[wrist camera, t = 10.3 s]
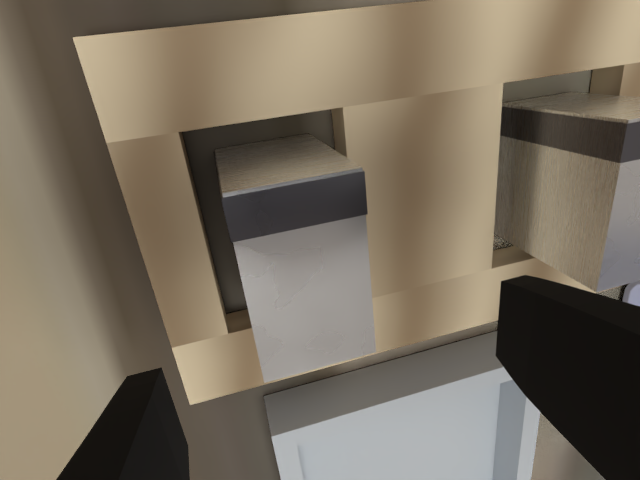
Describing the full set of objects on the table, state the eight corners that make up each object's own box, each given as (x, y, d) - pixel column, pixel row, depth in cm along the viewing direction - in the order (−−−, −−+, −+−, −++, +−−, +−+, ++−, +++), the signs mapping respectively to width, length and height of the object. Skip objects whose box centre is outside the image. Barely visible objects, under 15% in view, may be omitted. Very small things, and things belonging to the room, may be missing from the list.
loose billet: (309, 133, 16) (364, 167, 11) (326, 269, 19) (377, 352, 13) (213, 149, 15) (220, 194, 10) (243, 288, 18) (262, 383, 13)
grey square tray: (514, 325, 23) (548, 353, 21) (498, 493, 29) (523, 529, 26) (263, 396, 20) (271, 436, 18) (301, 566, 26) (310, 612, 24)
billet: (571, 91, 18) (724, 102, 13) (555, 217, 21) (678, 270, 16) (497, 103, 18) (627, 120, 12) (490, 232, 20) (595, 292, 15)
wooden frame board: (648, -20, 17) (685, -27, 16) (595, 273, 23) (620, 286, 22) (85, 40, 13) (72, 37, 12) (190, 381, 19) (190, 405, 18)
